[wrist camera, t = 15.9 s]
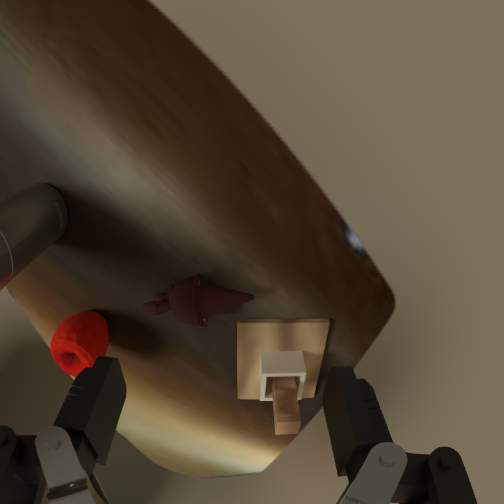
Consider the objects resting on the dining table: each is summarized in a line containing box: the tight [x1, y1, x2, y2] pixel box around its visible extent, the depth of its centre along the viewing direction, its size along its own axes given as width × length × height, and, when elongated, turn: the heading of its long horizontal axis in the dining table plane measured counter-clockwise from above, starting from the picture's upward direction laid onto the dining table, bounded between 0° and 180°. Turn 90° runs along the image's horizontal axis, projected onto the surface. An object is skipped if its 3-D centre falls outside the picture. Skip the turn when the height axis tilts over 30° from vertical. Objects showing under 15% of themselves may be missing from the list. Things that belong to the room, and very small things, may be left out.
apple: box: [50, 310, 109, 377], centre depth 43 cm, size 9×9×11 cm
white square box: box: [259, 351, 306, 401], centre depth 49 cm, size 7×7×5 cm
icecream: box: [142, 273, 254, 327], centre depth 43 cm, size 7×7×15 cm
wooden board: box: [237, 318, 330, 399], centre depth 52 cm, size 14×18×1 cm
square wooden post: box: [271, 376, 301, 434], centre depth 45 cm, size 3×3×12 cm
